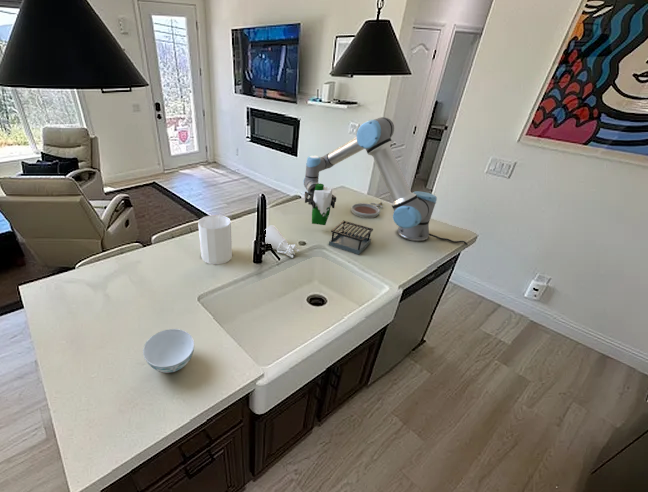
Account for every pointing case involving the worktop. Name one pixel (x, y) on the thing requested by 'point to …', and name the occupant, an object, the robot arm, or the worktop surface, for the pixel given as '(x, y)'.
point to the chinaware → (169, 350)
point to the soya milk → (321, 204)
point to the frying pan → (366, 210)
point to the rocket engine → (279, 241)
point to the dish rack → (350, 238)
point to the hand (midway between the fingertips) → (324, 205)
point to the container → (215, 239)
